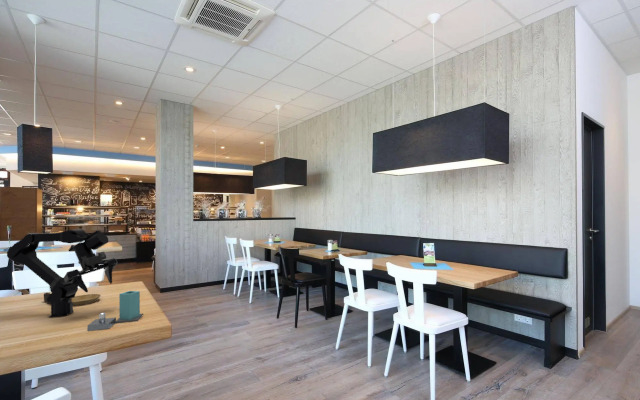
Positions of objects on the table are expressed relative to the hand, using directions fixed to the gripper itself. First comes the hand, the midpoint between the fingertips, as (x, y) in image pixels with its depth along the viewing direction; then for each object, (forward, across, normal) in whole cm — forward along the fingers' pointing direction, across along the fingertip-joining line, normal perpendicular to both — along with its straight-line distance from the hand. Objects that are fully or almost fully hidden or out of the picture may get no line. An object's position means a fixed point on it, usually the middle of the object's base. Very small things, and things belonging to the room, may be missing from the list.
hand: (99, 287), depth 135 cm
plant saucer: (-3, +3, +34) cm, 34 cm away
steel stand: (+17, -8, -10) cm, 21 cm away
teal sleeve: (+18, +2, -9) cm, 20 cm away
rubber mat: (+19, +2, -9) cm, 21 cm away
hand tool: (-11, -6, +44) cm, 46 cm away
